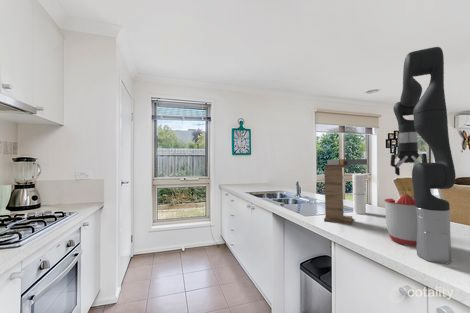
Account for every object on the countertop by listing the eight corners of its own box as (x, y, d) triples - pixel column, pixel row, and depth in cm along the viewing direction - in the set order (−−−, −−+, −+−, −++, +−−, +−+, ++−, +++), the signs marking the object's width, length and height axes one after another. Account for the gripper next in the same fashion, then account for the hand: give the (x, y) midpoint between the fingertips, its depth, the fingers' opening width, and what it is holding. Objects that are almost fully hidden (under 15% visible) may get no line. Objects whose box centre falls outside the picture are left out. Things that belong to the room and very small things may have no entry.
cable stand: (351, 224, 123) (350, 161, 123) (324, 221, 129) (322, 161, 130) (352, 218, 134) (350, 161, 135) (326, 216, 141) (325, 161, 141)
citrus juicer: (418, 236, 102) (417, 191, 103) (441, 250, 86) (439, 197, 86) (379, 233, 107) (378, 190, 107) (393, 246, 90) (391, 196, 91)
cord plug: (327, 164, 132) (327, 159, 133) (328, 164, 137) (328, 159, 137) (367, 164, 123) (366, 158, 123) (366, 164, 127) (366, 158, 128)
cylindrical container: (353, 213, 147) (352, 174, 148) (353, 211, 153) (352, 174, 154) (366, 214, 144) (365, 175, 144) (365, 212, 150) (364, 174, 151)
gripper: (392, 142, 110) (393, 176, 110) (429, 140, 105) (430, 176, 105) (388, 143, 117) (389, 174, 117) (422, 141, 112) (423, 174, 112)
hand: (408, 175), depth 111 cm, fingers open, 8 cm apart
